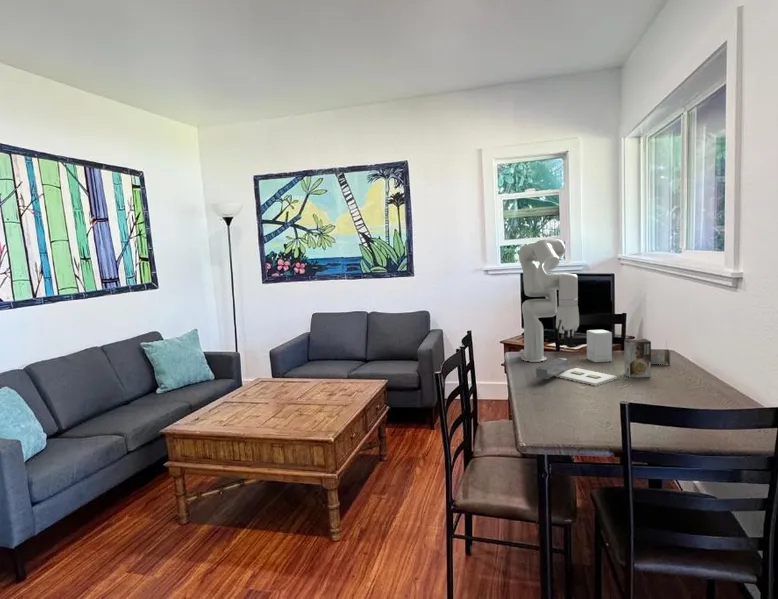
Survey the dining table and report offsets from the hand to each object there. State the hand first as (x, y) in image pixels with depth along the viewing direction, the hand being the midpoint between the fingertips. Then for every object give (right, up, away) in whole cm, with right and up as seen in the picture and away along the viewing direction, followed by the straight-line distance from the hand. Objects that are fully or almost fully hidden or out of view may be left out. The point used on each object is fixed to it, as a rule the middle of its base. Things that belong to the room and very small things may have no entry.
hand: (568, 345), depth 203 cm
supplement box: (+30, -11, +37) cm, 49 cm away
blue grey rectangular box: (+52, -12, +25) cm, 58 cm away
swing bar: (-3, -13, +10) cm, 17 cm away
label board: (+10, -15, +9) cm, 20 cm away
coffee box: (+33, -14, +7) cm, 37 cm away
